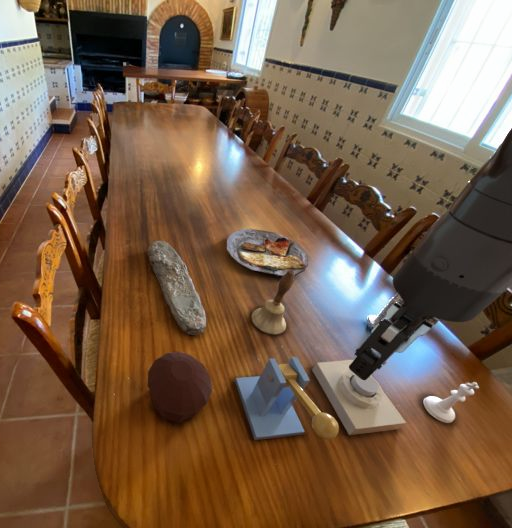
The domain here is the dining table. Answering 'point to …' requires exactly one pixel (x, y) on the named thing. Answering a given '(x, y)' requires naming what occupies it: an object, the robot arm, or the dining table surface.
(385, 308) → the screw
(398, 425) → the dial knob panel
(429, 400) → the chess piece
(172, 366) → the brown rounded faceted lump
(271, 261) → the food plate
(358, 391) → the grey push button
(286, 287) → the hand bell
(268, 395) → the lever bracket
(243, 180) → the dining table surface
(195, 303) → the long grey stone
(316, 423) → the flush lever
